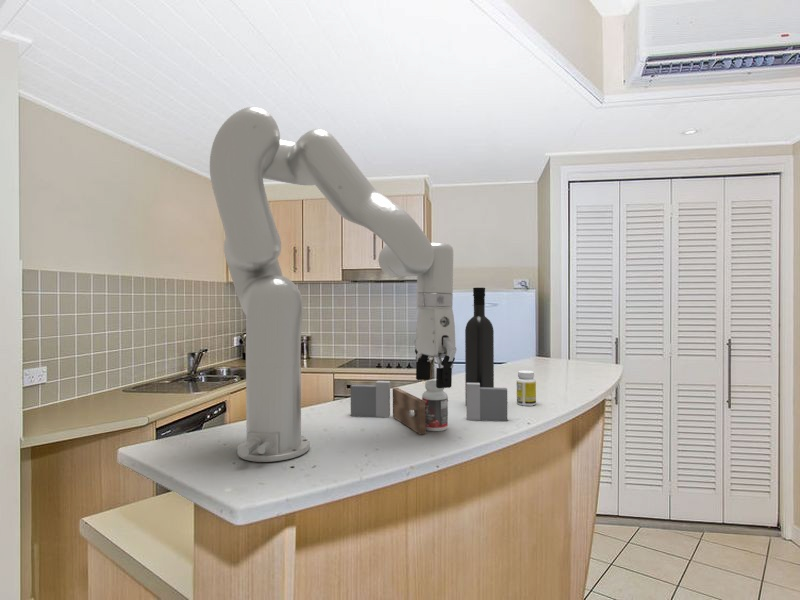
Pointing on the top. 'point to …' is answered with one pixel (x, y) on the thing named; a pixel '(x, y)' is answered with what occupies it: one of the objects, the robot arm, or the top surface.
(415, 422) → the door
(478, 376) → the wine bottle
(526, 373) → the supplement bottle
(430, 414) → the pill bottle
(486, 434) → the top surface
